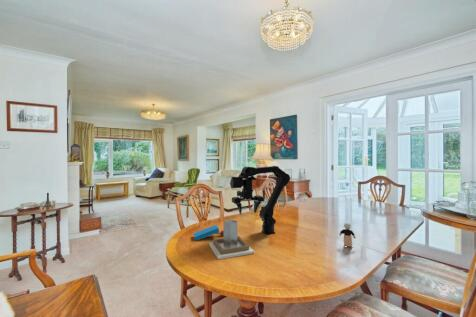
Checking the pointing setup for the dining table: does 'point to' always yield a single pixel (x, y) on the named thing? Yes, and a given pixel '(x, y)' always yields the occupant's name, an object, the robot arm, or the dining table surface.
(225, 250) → the stand
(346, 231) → the grandmother figurine
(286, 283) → the dining table surface
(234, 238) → the brushed metal pillar
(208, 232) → the lever
